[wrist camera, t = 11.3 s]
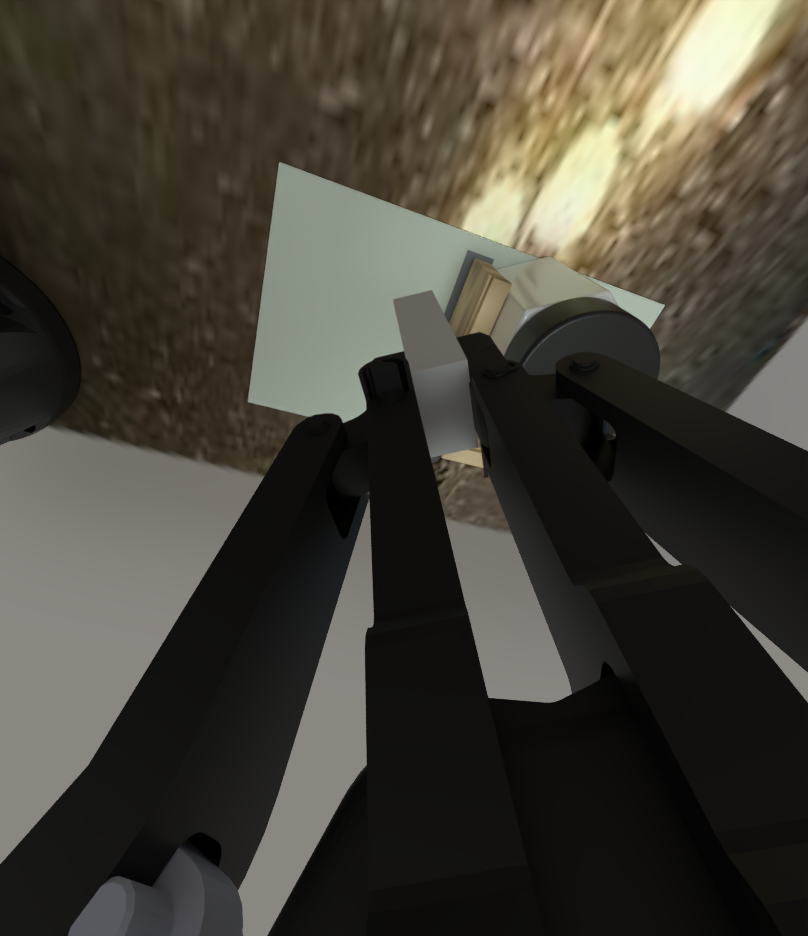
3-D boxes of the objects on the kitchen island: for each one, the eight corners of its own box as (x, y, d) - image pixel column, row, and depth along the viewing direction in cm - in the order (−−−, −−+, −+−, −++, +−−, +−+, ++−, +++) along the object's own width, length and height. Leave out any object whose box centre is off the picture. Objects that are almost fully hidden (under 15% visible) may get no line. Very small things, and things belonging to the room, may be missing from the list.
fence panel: (435, 400, 36) (444, 437, 32) (418, 395, 36) (425, 432, 31) (492, 264, 30) (514, 285, 26) (472, 257, 30) (491, 277, 25)
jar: (469, 379, 36) (507, 465, 26) (455, 276, 31) (496, 334, 21) (578, 354, 35) (659, 432, 26) (581, 245, 30) (682, 291, 21)
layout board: (248, 400, 36) (247, 402, 36) (279, 161, 27) (278, 162, 26) (553, 474, 43) (554, 477, 42) (662, 304, 33) (665, 305, 33)
